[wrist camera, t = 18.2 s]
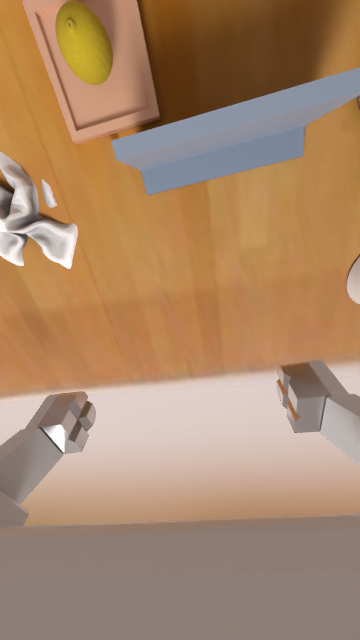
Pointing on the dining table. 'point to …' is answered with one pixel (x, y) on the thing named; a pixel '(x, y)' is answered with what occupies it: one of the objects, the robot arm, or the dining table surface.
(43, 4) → the dish
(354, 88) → the screen
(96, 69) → the lemon
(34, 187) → the cloth
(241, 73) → the dining table surface
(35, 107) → the dining table surface
